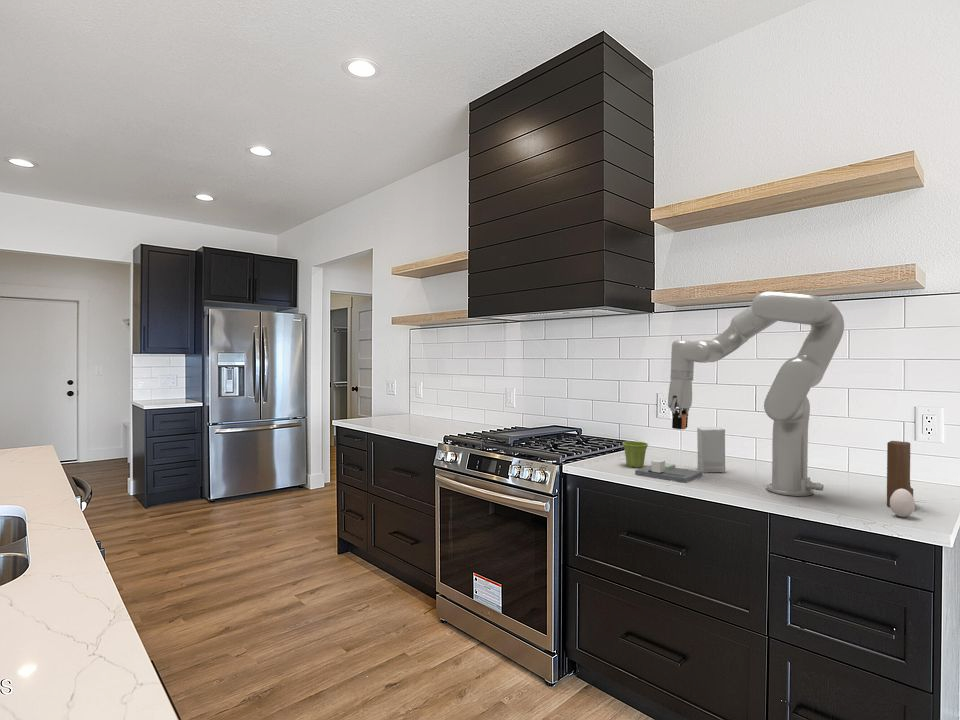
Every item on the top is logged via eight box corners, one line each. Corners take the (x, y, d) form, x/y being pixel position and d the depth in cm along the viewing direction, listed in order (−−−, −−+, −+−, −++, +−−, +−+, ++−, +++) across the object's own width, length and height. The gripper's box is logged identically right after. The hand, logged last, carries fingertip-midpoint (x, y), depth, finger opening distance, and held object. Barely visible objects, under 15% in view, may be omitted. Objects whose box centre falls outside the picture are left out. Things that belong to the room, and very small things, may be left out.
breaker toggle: (664, 470, 194) (665, 460, 194) (659, 472, 191) (659, 462, 191) (656, 469, 196) (656, 459, 196) (651, 471, 193) (651, 461, 193)
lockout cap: (687, 428, 197) (688, 414, 197) (682, 429, 194) (683, 415, 194) (676, 427, 200) (677, 413, 200) (671, 428, 197) (672, 414, 197)
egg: (891, 518, 146) (891, 489, 145) (888, 512, 150) (888, 485, 150) (916, 521, 143) (916, 492, 143) (913, 515, 148) (913, 487, 147)
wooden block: (894, 500, 162) (894, 438, 162) (913, 504, 159) (914, 440, 158) (886, 506, 156) (887, 442, 156) (906, 510, 153) (907, 444, 152)
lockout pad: (675, 467, 202) (675, 464, 202) (667, 469, 197) (667, 467, 197) (659, 465, 206) (659, 462, 206) (651, 467, 202) (651, 464, 202)
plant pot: (653, 467, 208) (653, 444, 208) (632, 469, 205) (632, 446, 205) (637, 463, 217) (637, 440, 217) (617, 464, 214) (617, 442, 213)
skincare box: (720, 469, 205) (720, 426, 205) (726, 473, 199) (726, 429, 198) (696, 469, 206) (696, 426, 206) (701, 472, 200) (701, 429, 199)
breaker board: (702, 475, 195) (702, 469, 194) (685, 482, 184) (685, 476, 184) (653, 468, 207) (653, 462, 207) (635, 474, 197) (635, 468, 197)
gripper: (681, 374, 205) (679, 424, 206) (660, 376, 193) (658, 429, 193) (702, 375, 200) (699, 427, 200) (682, 377, 188) (679, 432, 188)
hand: (679, 427), depth 197 cm, fingers closed on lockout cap, 4 cm apart
